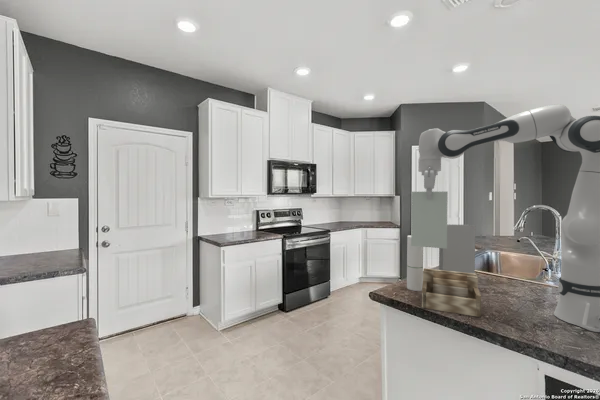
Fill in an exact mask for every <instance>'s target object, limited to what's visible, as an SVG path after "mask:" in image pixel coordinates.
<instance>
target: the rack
mask: <svg viewBox="0 0 600 400" xmlns="http://www.w3.org/2000/svg"><path fill="white" fill-rule="evenodd" d="M433 271H436V272H445V273H454V274H463V275H467V288H468V298H464V297H457V296H450V295H443V294H436V293H433ZM478 279H479V277H478V276H477V273H475V274H474V273H464V272H455V271H445V270H439V269H436V268H435V269H434V268H424V267H423V285H422V291H421V308H422V309H428V310H434V311H442V312H446V313H452V314H458V315H459V314H460V315H465V316H472V317H478V318H481V316H482V295H481V294H482V293H481V292H480V290H479V288H478V287H479V280H478Z"/></svg>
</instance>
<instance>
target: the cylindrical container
mask: <svg viewBox="0 0 600 400" xmlns="http://www.w3.org/2000/svg"><path fill="white" fill-rule="evenodd" d="M406 237H407V238H406V243H407V245H406V247H407V248H406V251H407V252H406V253H407V254H406V289H408V290H410V291H416V292H422V285H423V271H424V247H419V246H411V235H409V234H408V235H407V236H406Z"/></svg>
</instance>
